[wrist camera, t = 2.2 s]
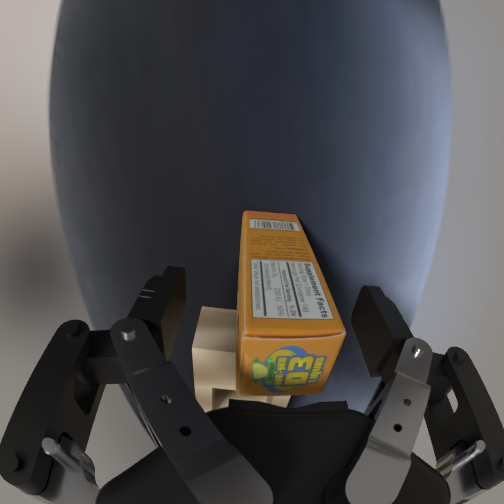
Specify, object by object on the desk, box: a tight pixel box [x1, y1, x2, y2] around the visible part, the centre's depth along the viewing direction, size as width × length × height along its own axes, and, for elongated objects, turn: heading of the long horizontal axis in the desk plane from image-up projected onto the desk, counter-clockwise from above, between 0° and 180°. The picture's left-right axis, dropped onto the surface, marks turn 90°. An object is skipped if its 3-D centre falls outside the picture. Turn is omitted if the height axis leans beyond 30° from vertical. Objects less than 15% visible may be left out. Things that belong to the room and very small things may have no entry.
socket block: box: [192, 306, 291, 413], centre depth 21 cm, size 13×7×4 cm, turn 174°
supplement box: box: [236, 211, 346, 396], centre depth 12 cm, size 3×3×10 cm
